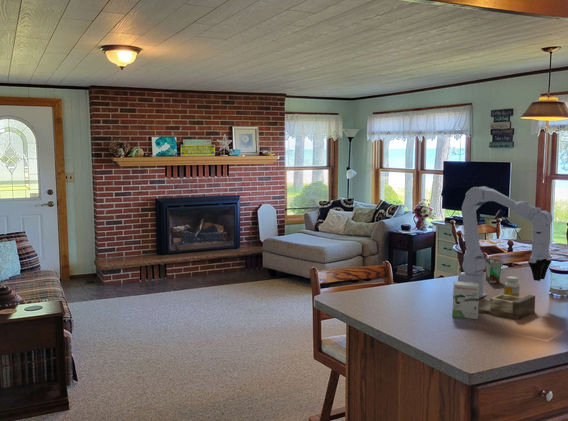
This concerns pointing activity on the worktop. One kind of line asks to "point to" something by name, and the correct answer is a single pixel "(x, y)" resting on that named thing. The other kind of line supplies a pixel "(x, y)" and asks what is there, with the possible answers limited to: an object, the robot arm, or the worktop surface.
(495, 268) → the food container
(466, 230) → the robot arm
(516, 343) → the worktop surface
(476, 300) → the ink box
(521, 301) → the base
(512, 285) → the supplement bottle
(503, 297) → the beige square tray
